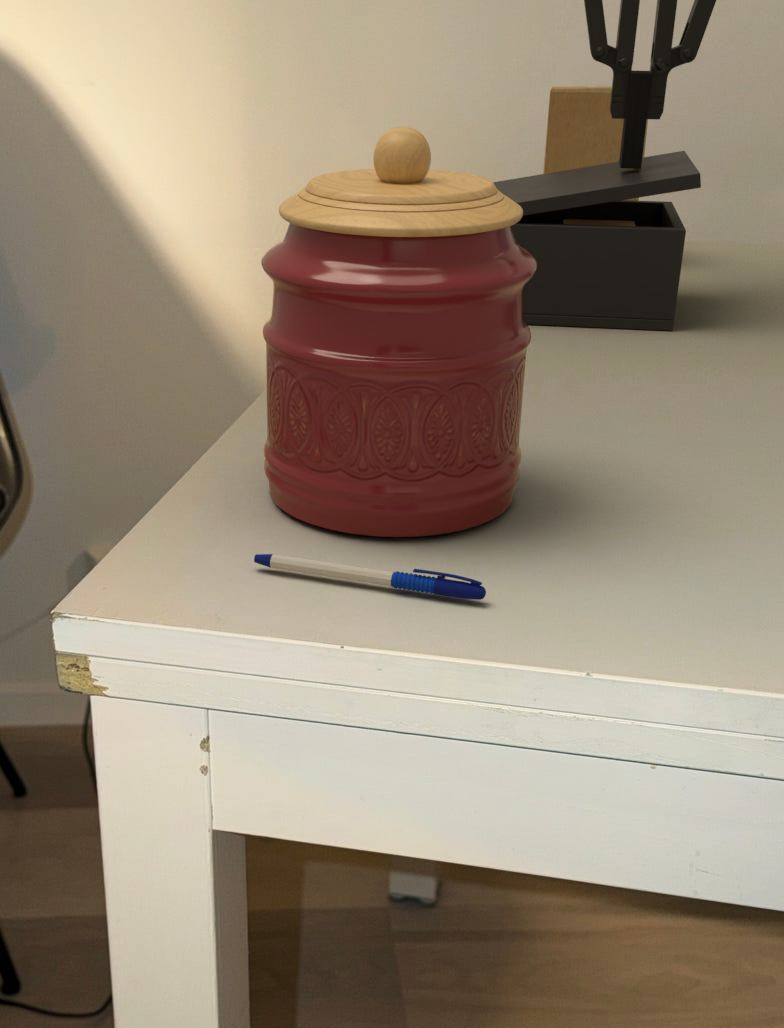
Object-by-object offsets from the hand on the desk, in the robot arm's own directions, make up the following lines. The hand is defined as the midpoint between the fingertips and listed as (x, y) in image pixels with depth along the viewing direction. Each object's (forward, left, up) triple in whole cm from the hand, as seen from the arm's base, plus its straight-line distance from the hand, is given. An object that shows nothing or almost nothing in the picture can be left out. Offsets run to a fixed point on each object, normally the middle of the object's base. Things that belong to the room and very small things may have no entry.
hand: (629, 165), depth 98 cm
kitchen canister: (-21, +40, -11) cm, 47 cm away
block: (+1, +1, -10) cm, 10 cm away
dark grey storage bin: (+2, +2, -11) cm, 11 cm away
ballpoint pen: (-29, +48, -11) cm, 57 cm away
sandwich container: (+18, -16, -11) cm, 26 cm away
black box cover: (+2, +2, -2) cm, 4 cm away
